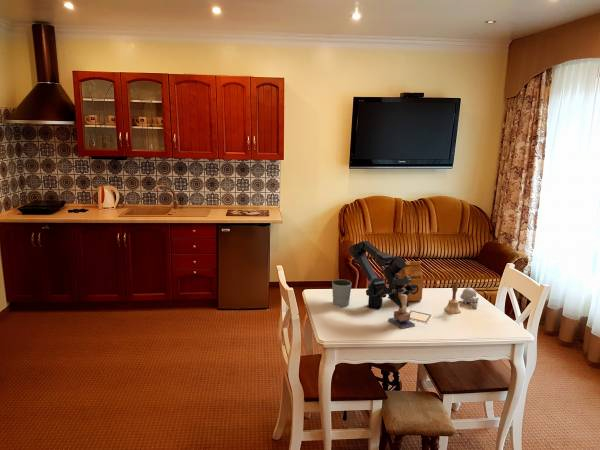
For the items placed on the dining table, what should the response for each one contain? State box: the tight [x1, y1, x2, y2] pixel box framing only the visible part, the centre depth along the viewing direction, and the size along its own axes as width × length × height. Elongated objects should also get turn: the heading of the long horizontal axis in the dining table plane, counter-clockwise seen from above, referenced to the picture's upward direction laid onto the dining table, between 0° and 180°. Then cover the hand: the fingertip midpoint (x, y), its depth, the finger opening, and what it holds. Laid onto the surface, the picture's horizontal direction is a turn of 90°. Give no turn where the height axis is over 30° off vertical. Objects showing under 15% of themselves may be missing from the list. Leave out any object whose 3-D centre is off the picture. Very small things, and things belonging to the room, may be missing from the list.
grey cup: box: [331, 278, 352, 308], centre depth 234 cm, size 10×10×12 cm
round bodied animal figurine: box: [459, 287, 479, 308], centre depth 241 cm, size 7×12×8 cm, turn 9°
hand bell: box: [443, 281, 462, 315], centre depth 230 cm, size 8×8×16 cm
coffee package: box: [398, 260, 424, 302], centre depth 243 cm, size 10×12×22 cm
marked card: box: [407, 309, 434, 325], centre depth 223 cm, size 12×12×1 cm
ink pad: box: [387, 317, 416, 329], centre depth 214 cm, size 10×8×1 cm
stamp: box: [393, 294, 410, 322], centre depth 212 cm, size 5×5×12 cm
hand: (404, 307), depth 211 cm, fingers closed on stamp, 3 cm apart
